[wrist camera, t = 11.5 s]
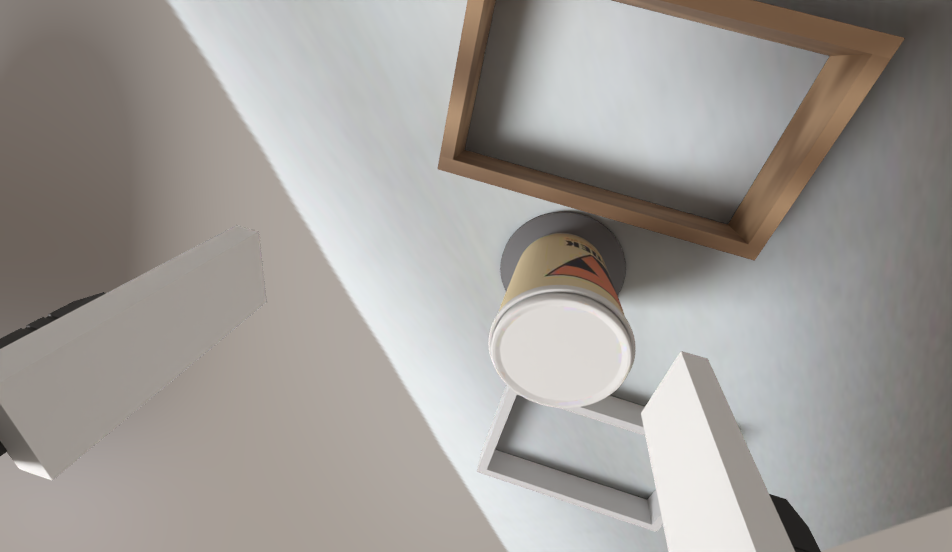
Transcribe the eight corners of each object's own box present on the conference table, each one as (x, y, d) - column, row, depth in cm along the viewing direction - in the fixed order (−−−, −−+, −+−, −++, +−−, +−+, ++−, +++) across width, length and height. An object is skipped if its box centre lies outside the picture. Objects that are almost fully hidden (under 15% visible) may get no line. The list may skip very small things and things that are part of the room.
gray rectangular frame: (513, 365, 42) (510, 384, 39) (715, 429, 41) (726, 453, 38) (481, 450, 49) (476, 471, 47) (651, 506, 48) (656, 531, 46)
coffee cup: (637, 277, 34) (670, 370, 24) (554, 331, 38) (551, 430, 28) (567, 200, 32) (569, 265, 22) (488, 266, 36) (457, 346, 26)
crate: (491, -50, 26) (479, -68, 22) (856, 42, 24) (904, 38, 21) (450, 158, 33) (437, 169, 29) (733, 239, 31) (754, 260, 28)
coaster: (519, 196, 33) (519, 198, 33) (646, 233, 33) (647, 235, 32) (488, 300, 39) (488, 303, 38) (596, 333, 38) (597, 337, 38)
